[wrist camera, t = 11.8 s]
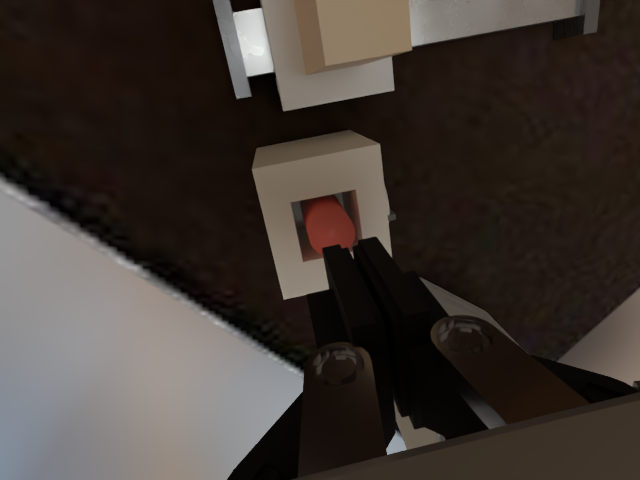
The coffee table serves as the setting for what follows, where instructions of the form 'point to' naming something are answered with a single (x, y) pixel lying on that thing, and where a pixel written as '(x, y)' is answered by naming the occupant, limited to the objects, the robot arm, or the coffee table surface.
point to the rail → (425, 20)
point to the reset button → (327, 222)
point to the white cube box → (315, 181)
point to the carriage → (334, 47)
